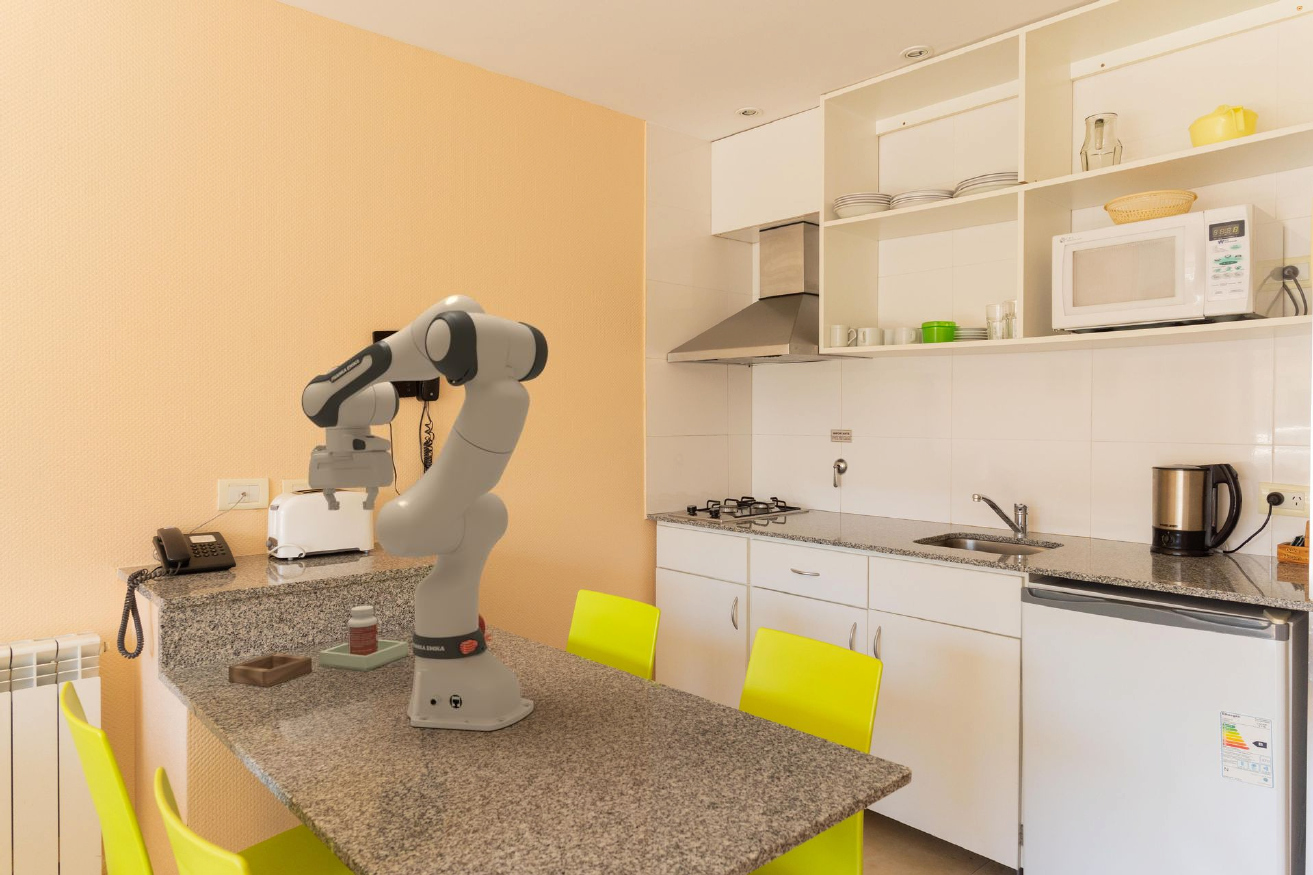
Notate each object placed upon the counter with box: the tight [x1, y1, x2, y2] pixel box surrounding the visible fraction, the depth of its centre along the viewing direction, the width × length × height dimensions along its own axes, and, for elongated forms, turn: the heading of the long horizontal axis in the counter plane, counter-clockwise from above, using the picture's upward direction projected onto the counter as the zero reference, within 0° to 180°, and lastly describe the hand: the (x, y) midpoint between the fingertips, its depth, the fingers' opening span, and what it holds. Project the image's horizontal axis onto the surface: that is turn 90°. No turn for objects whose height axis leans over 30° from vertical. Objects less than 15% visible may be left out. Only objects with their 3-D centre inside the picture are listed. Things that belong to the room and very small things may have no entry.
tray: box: [318, 638, 409, 672], centre depth 178 cm, size 13×13×3 cm
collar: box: [228, 652, 313, 688], centre depth 167 cm, size 11×11×3 cm
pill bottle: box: [347, 605, 379, 656], centre depth 178 cm, size 6×6×11 cm
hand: (351, 509), depth 168 cm, fingers open, 8 cm apart
